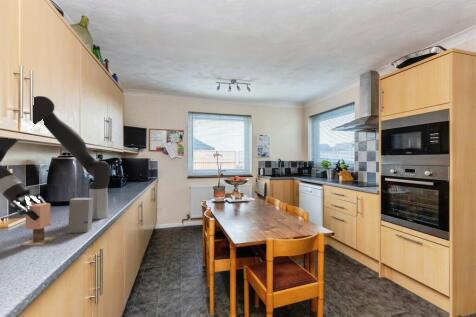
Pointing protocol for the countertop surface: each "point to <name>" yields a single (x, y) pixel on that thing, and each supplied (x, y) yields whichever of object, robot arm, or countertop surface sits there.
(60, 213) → the countertop surface
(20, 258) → the countertop surface
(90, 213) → the skincare box
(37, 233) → the wooden peg stand
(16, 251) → the countertop surface
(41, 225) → the tan rectangular prism
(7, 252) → the countertop surface
